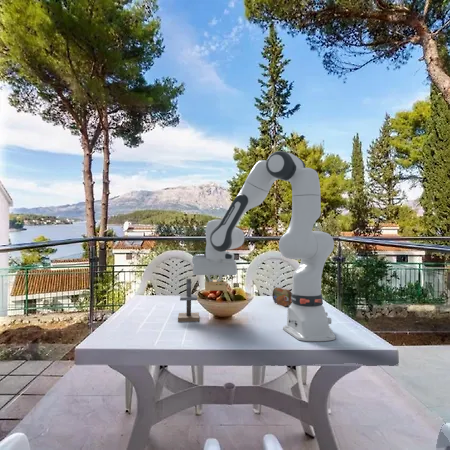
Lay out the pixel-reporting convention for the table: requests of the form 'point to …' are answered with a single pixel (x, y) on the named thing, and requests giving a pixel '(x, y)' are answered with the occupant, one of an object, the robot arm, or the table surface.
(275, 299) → the tin
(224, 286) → the tan rectangular frame
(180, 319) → the stand
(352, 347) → the table surface
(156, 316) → the table surface
